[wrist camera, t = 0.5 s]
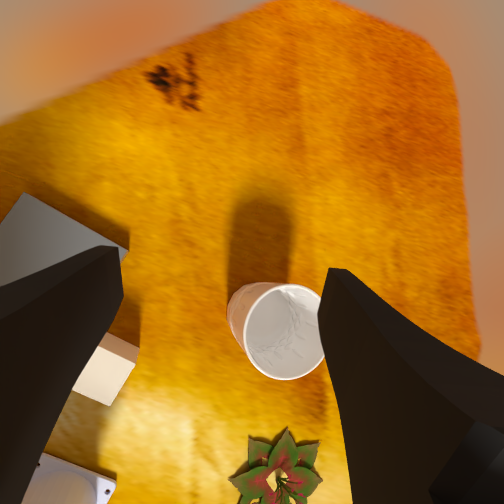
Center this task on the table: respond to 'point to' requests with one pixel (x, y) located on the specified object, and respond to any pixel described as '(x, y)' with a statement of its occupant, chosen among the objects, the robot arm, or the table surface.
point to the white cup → (277, 328)
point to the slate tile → (42, 239)
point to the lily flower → (286, 458)
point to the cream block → (107, 369)
